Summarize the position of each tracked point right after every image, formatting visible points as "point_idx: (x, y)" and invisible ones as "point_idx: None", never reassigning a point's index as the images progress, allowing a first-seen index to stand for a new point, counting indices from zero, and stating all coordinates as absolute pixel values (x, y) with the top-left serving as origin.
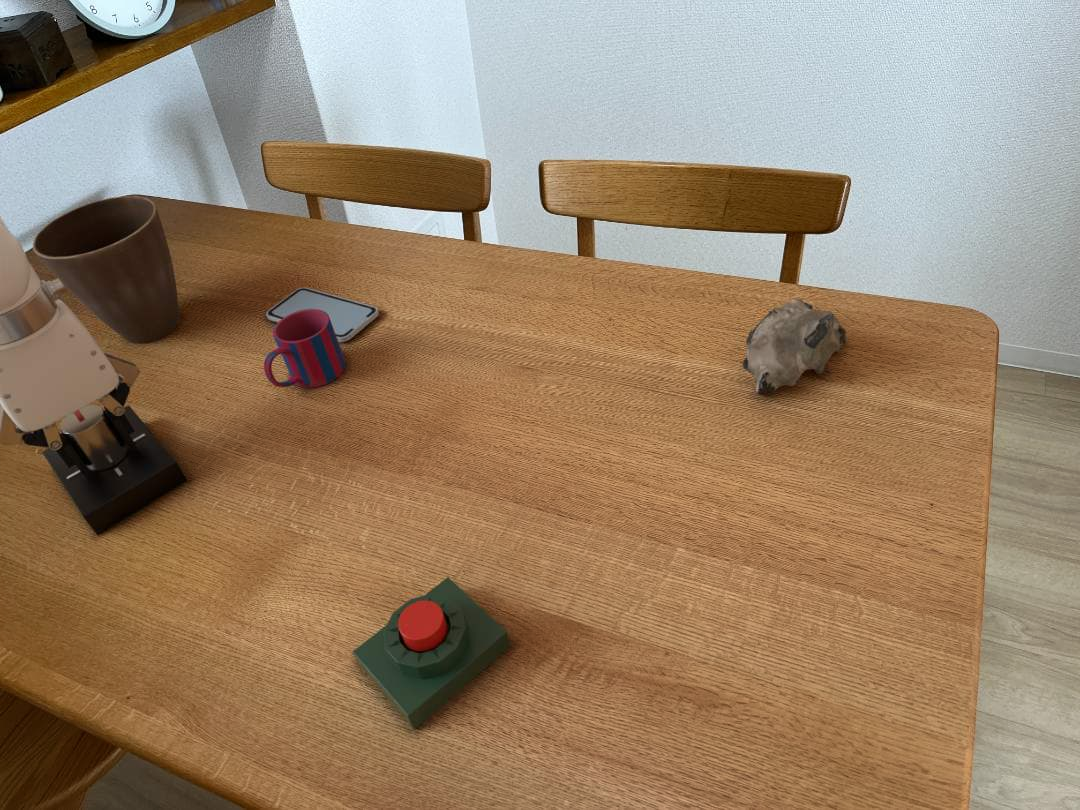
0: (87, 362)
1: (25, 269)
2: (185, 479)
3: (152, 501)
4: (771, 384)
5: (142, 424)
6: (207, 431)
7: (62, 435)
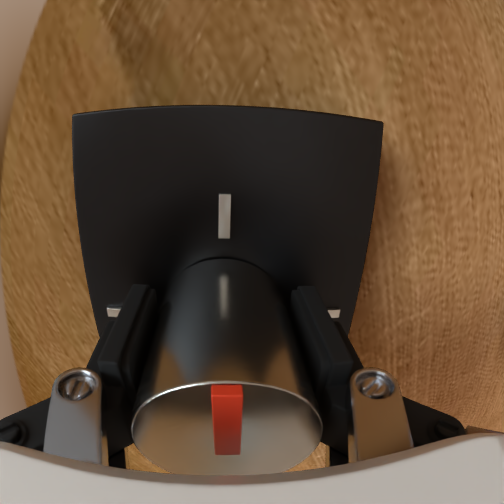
0: None
1: None
2: None
3: None
4: None
5: (360, 262)
6: (413, 290)
7: (128, 384)
